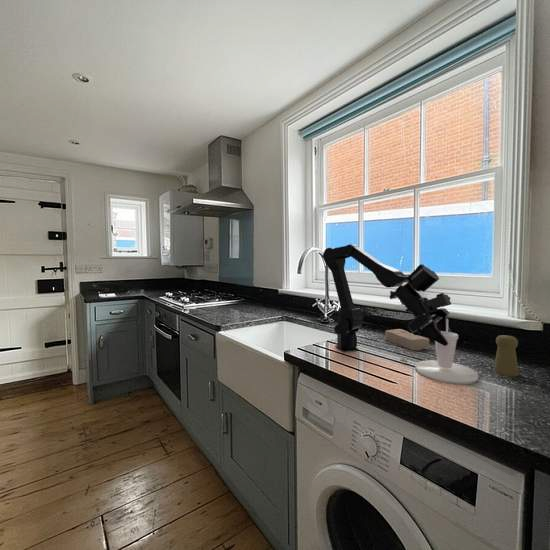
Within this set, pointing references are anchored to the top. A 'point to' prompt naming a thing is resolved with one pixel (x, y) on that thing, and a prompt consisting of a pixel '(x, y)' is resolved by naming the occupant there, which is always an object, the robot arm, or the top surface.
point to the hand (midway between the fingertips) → (450, 342)
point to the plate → (446, 372)
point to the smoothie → (446, 349)
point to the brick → (407, 339)
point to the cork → (506, 356)
